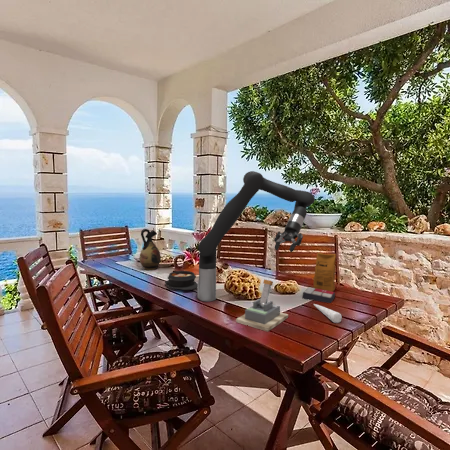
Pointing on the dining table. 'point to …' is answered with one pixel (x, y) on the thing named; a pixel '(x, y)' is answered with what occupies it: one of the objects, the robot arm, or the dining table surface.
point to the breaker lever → (265, 292)
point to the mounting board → (264, 327)
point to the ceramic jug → (149, 252)
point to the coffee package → (325, 272)
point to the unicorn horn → (330, 313)
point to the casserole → (181, 280)
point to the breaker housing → (262, 312)
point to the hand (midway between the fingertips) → (283, 250)
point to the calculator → (319, 295)
